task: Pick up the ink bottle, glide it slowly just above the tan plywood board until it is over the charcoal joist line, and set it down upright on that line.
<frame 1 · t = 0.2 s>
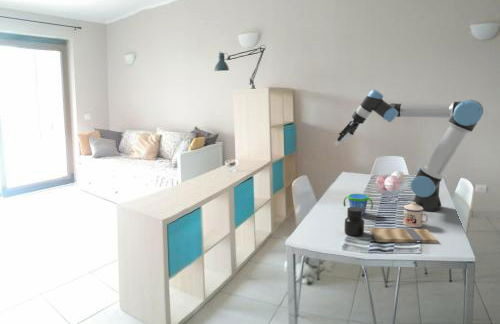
hand: (339, 143, 222), 36 cm above the table, tool tilted 35°, fingers open, 13 cm apart
teacup with lid: (415, 225, 185), on the table
snack cup: (357, 214, 204), on the table
plywood board: (401, 236, 171), on the table
ink bottle: (354, 233, 176), on the table
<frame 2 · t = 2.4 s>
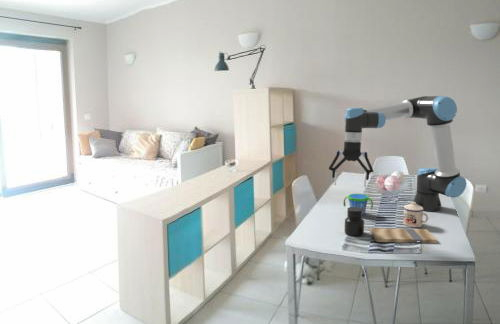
hand: (349, 185, 176), 22 cm above the table, tool pointing down, fingers open, 13 cm apart
nothing on the table moved.
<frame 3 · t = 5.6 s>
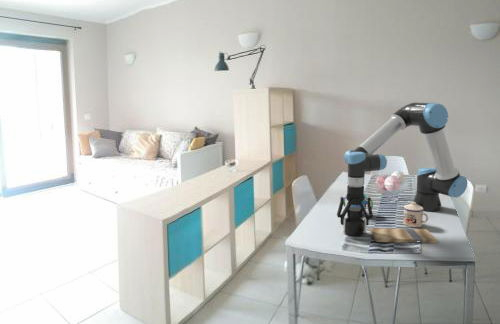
hand: (354, 231, 176), 1 cm above the table, tool pointing down, fingers closed on ink bottle, 9 cm apart
ink bottle: (353, 233, 176), on the table, touching gripper
everything else where it was.
when the fingers open (3 cm above the table, at t = 13.9 s): ink bottle stays where it is, resting on plywood board.
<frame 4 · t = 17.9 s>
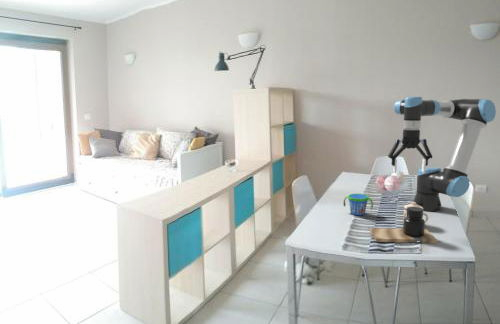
hand: (408, 172, 182), 27 cm above the table, tool pointing down, fingers open, 13 cm apart
ink bottle: (413, 234, 170), point 1 cm above the table, touching plywood board
everything else where it was.
at the end: ink bottle 0.1 cm from the target spot on the plywood board, point 1.3 cm above the plywood board's base; ink bottle tilted 0°; the gripper is holding nothing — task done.
